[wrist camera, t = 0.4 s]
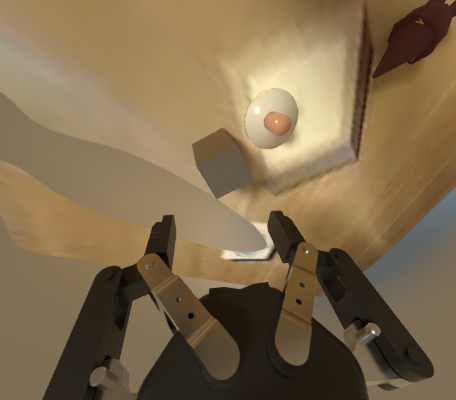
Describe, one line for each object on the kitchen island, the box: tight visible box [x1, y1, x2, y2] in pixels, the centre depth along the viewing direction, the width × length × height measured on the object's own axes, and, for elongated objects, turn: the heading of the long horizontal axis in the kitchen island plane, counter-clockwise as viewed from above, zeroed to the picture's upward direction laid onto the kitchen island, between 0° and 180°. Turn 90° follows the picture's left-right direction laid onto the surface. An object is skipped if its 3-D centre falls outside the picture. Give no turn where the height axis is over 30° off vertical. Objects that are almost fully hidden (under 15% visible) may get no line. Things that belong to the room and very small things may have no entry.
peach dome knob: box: [264, 111, 291, 136], centre depth 30 cm, size 3×3×4 cm
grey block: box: [192, 128, 252, 199], centre depth 29 cm, size 6×6×10 cm
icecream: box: [372, 0, 456, 79], centre depth 27 cm, size 7×7×15 cm
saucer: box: [245, 88, 297, 148], centre depth 32 cm, size 10×10×1 cm
